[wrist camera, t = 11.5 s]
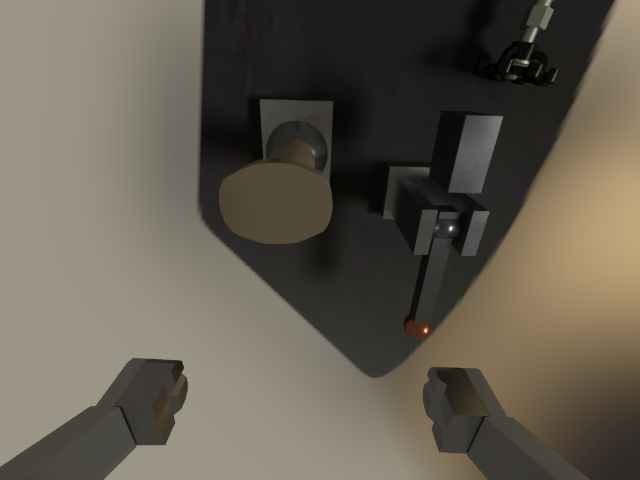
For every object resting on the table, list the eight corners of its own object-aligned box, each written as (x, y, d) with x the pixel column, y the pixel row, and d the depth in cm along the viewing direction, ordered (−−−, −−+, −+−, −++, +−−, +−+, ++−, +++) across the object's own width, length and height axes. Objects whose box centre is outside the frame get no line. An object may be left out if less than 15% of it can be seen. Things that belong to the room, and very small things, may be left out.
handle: (262, 129, 29) (211, 164, 15) (327, 127, 29) (332, 162, 15) (267, 177, 31) (226, 244, 18) (327, 176, 31) (332, 242, 18)
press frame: (262, 98, 29) (231, 104, 19) (459, 104, 29) (530, 113, 19) (269, 210, 35) (248, 260, 25) (434, 215, 35) (479, 266, 25)
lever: (438, 110, 23) (463, 115, 19) (474, 111, 23) (506, 116, 19) (397, 320, 33) (407, 351, 29) (422, 321, 33) (435, 352, 29)
